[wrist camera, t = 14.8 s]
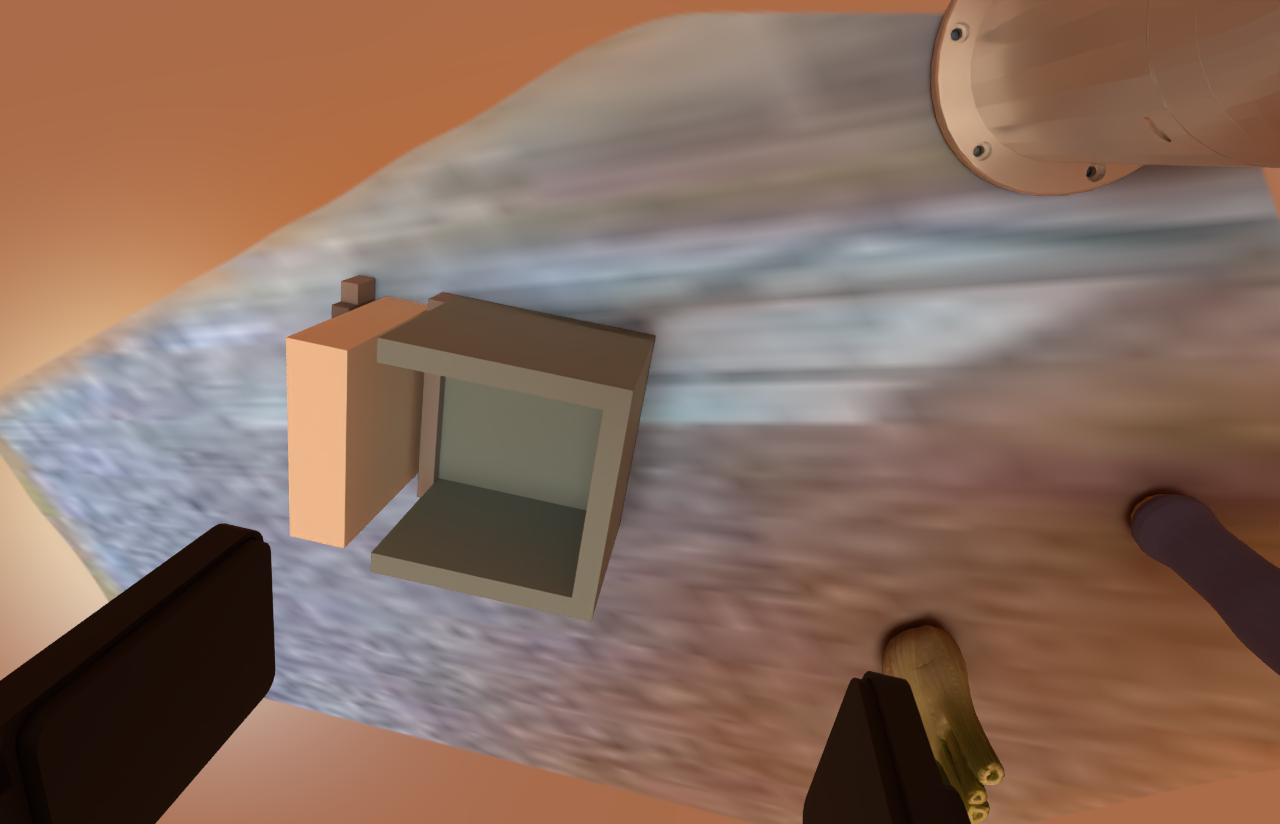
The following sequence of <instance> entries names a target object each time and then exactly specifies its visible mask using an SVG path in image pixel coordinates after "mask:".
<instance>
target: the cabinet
mask: <svg viewBox="0 0 1280 824" xmlns="http://www.w3.org/2000/svg"><path fill="white" fill-rule="evenodd" d="M374 297H375V279H374V278H370V277H365V276H360V275H359V276H356V277H353V278H349V279H346V280H343V281H341V302H339V303H336V304H333V305H332V318H335V317H337V316H339V315H342V314H344V313H347V312H349V311H352V310H354V309H356V308H359V307H361V306H364V305H366V304H368V303H371V302H373V301H374ZM654 342H655V335H650V334H645V333H640V332H635V331H630V330H625V329H620V328H615V327H610V326H605V325H600V324H596V323H591V322H586V321H581V320H576V319H571V318H566V317H561V316H556V315H551V314H546V313H541V312H537V311H532V310H527V309H522V308H517V307H512V306H507V305H502V304H497V303H492V302H487V301H483V300H478V299H473V298H468V297H463V296H458V295H453V294H448V293H443V292H442V293H440V294H438V295H436V296H434V297H432V298H430V299H429V301H428V312H426V313H424V314H422V315H420V316H418V317H417V318H415V319H413V320H411V321H409V322H407V323H405V324H403V325H401V326H399V327H397V328H395V329H393V330H392V331H390V332H388V333H386V334H384V335H382V336H380V337H378V343H377V362H378V363H383V364H387V365H392V366H397V367H402V368H406V369H411V370H416V371H421V372H424V387H423V405H422V422H421V439H420V456H419V474H418V491H417V497H420V499H419V500H418V501H417V502H416V504H415V505H414V506H413V507H412V508H411V509H410V510H409V511H408V512H407V514H406V515H405V516H404V517H403V518H402V519H401V520H400V521H399V522H398V524H397V525H396V526H395V527H394V528H393V529H392V530H391V531H390V532H389V534H388V535H387V536H386V537H385V538H384V539H383V540H382V541H381V542H380V544H379V545H378V546H377V547H376V548H375V549H374V550H373V551H372V553H371V572H374V573H378V574H383V575H387V576H392V577H396V578H401V579H405V580H409V581H414V582H418V583H423V584H427V585H432V586H436V587H440V588H445V589H449V590H454V591H458V592H462V593H467V594H471V595H476V596H480V597H485V598H489V599H493V600H498V601H502V602H507V603H511V604H515V605H520V606H524V607H529V608H533V609H538V610H542V611H546V612H551V613H555V614H560V615H564V616H568V617H573V618H577V619H582V620H586V621H592V617H593V614H594V611H595V607H596V604H597V600H598V597H599V594H600V590H601V587H602V583H603V580H604V577H605V573H606V570H607V566H608V563H609V560H610V556H611V553H612V549H613V546H614V543H615V539H616V536H617V532H618V529H619V526H620V521H621V516H622V511H623V505H624V500H625V495H626V489H627V484H628V479H629V474H630V468H631V463H632V458H633V452H634V447H635V442H636V437H637V431H638V426H639V421H640V416H641V410H642V405H643V400H644V394H645V389H646V384H647V379H648V373H649V368H650V363H651V358H652V352H653V347H654Z"/></svg>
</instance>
